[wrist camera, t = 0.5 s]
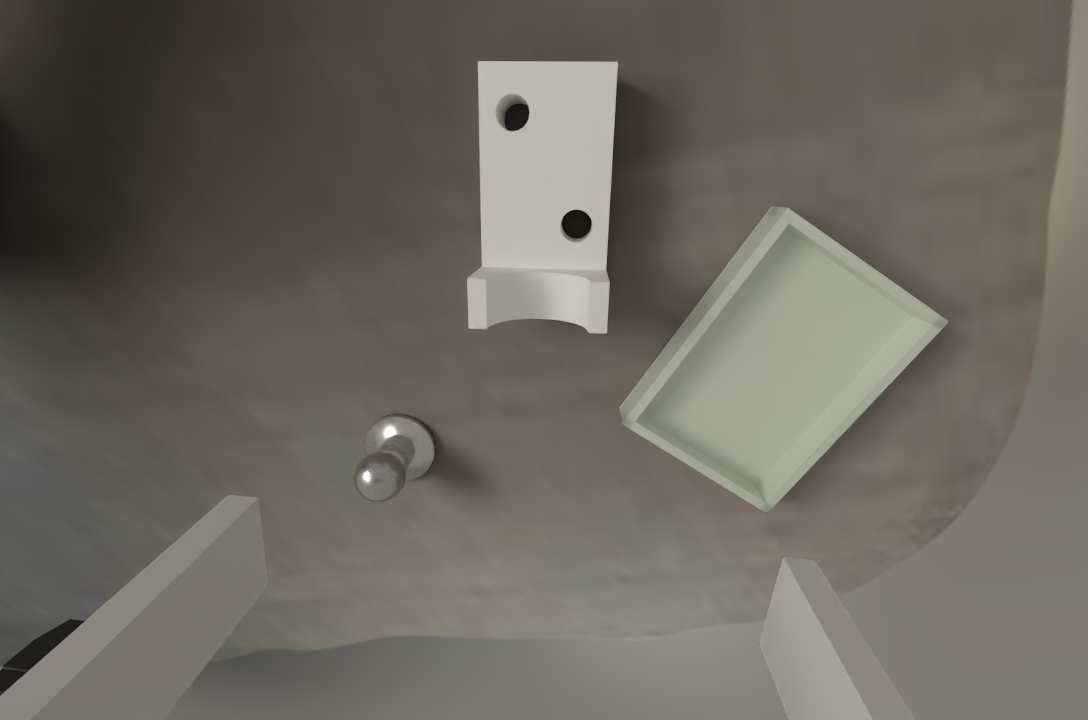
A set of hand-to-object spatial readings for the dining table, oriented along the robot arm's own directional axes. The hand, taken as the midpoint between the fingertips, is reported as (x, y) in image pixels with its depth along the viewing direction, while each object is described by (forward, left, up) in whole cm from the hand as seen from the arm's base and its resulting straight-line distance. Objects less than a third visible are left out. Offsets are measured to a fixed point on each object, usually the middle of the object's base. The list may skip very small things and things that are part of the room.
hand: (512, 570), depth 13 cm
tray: (+12, +6, -22) cm, 26 cm away
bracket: (-5, +7, -23) cm, 24 cm away
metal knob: (-5, -13, -22) cm, 26 cm away
